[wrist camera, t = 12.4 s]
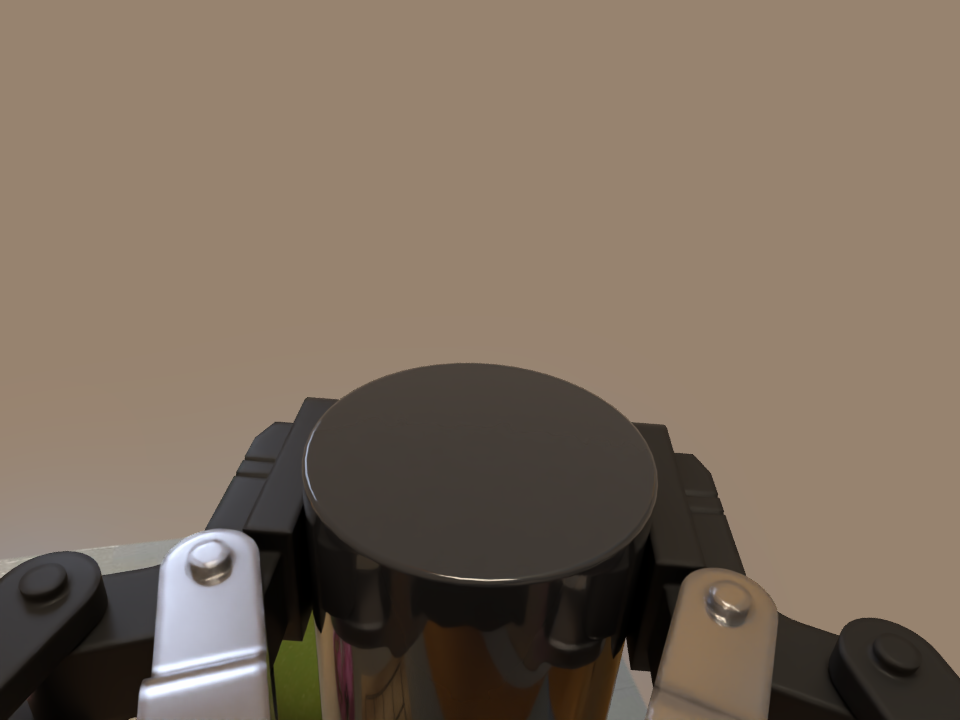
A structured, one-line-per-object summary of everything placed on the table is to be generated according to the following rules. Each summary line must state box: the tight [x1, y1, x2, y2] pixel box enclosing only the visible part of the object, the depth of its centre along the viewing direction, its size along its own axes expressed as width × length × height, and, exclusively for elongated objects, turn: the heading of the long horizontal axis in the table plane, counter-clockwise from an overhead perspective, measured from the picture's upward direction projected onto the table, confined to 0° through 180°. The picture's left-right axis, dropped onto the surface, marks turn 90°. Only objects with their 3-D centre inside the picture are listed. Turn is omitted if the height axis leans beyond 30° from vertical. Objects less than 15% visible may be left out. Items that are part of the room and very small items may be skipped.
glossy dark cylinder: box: [301, 363, 659, 720], centre depth 13 cm, size 5×5×9 cm
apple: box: [274, 610, 322, 720], centre depth 40 cm, size 11×10×10 cm
